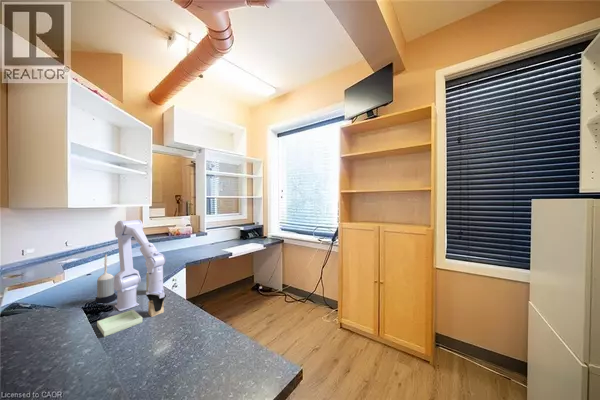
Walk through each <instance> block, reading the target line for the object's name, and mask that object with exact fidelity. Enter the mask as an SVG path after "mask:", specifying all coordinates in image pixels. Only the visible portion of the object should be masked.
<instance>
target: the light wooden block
mask: <svg viewBox="0 0 600 400" xmlns="http://www.w3.org/2000/svg"><path fill="white" fill-rule="evenodd" d="M145 276H146V278H145V279H146V282H145V283H146V285H145V287H146V291H145V293H146V292H148V287H149V273H148V272H146V274H145Z"/></svg>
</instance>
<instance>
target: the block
mask: <svg viewBox="0 0 600 400" xmlns="http://www.w3.org/2000/svg"><path fill="white" fill-rule="evenodd" d="M164 301H165V300H164ZM164 301H163V303H162V307H161V310H160V311H157V312H155V309H154V303H153V301H149V300H148V302H147V303H148V308H147V309H148V315H149V316H150V317H151V318H152V317H156V316H157V315H160V314H163V313H164V312H165V310H164V309H165V308H164V303H165V302H164Z"/></svg>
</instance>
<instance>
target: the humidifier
mask: <svg viewBox="0 0 600 400" xmlns="http://www.w3.org/2000/svg"><path fill="white" fill-rule="evenodd" d="M103 264H104V267H103V270H104V273H103V274H101V275H100V276H99V277H98V278H97V282H96V296H95V301H94V303H95V302H98V303H106V304H109V303H111V302H114V301H115V300H117V294H116V293H115V289H114V287H113V283H114V276H115V275H113V274H112V273H108V254H105V255H104V263H103Z"/></svg>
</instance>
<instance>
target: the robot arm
mask: <svg viewBox="0 0 600 400" xmlns="http://www.w3.org/2000/svg"><path fill="white" fill-rule="evenodd" d="M114 234H115V238H117V242H118V243H117V245H118V254H119V255H118V256H119V269H120V271H118V273H116V274H115V275H113V276H114V283H113V287H114V291H116V292H117V294H116V304H115V305H114V307H115V308H116V309H117V311H119V312H123V311H126V310H129V309H132V308H135V307H138V306H140V303H138V302H137V288H138V287H139V285H140V283H141V280H142V278H141V276H140V272H139V270H137V269H136V268H134V261H133V259H134V258H133V248H132V238H134V239H135V241H136V242H137V243H138V245H139V246H140V248H139V251H140V253H141V255H142V256H143V257H144V259H145V262H144V263H145V267H146V271H147V273H149V287H148V292H146V291H145V295H146V297H147V299H148V301H153V303H154V309H155V312H157V311H160V310H161V307H162V303H163V301H165V298H166V297H167V295H166V294H165V290H164V289H165V288H164V266H165V265H166V263H167V258H166V256H165V254H163V253H161V252H159V251H158V249H157V247H156V246H155V244H154V243H152V242H149V240H148V237H147V235H146V234H145V232H144V223H143V221H142V220H141V219H139V218H137V219H131V220H118V221H117V222H116V223H115V225H114Z"/></svg>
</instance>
